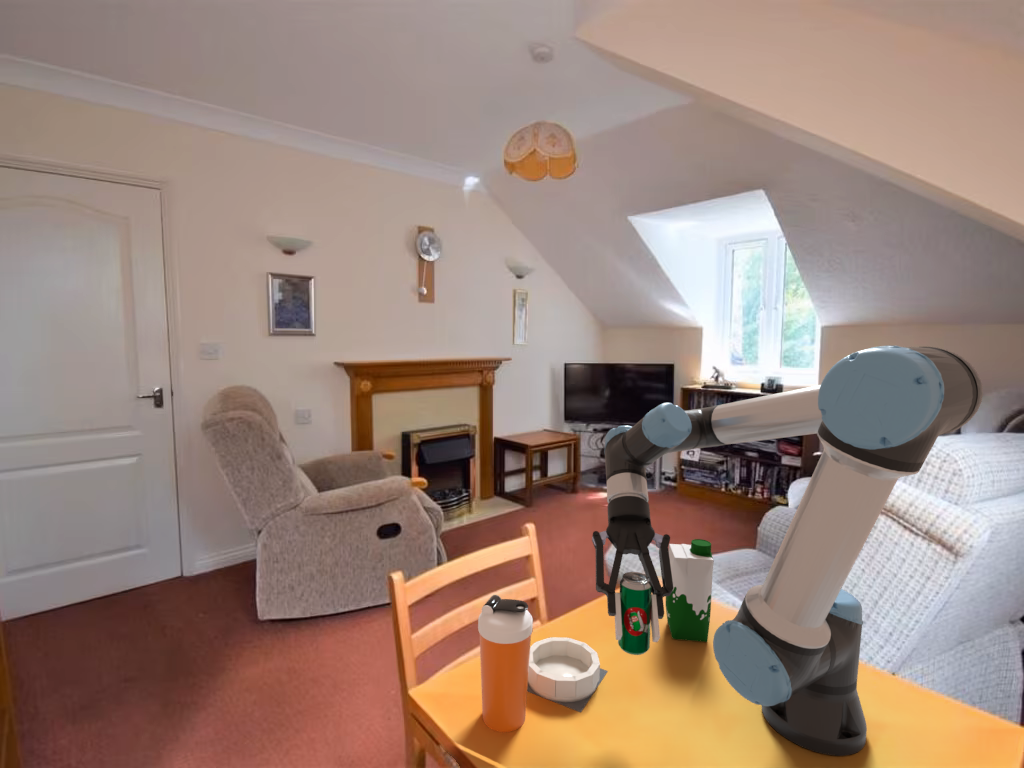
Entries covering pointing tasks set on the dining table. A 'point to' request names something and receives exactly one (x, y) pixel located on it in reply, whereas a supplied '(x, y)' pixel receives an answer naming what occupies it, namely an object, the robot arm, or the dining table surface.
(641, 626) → the soda can
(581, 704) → the mat
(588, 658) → the bowl
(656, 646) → the dining table surface
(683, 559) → the milk carton
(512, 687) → the shaker bottle
